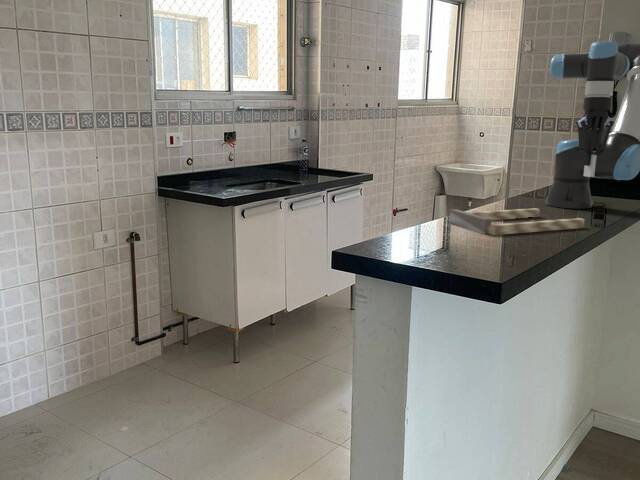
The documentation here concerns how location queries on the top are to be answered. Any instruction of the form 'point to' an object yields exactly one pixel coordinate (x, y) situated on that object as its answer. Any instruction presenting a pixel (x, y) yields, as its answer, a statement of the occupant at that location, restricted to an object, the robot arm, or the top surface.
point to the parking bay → (483, 223)
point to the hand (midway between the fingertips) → (588, 176)
